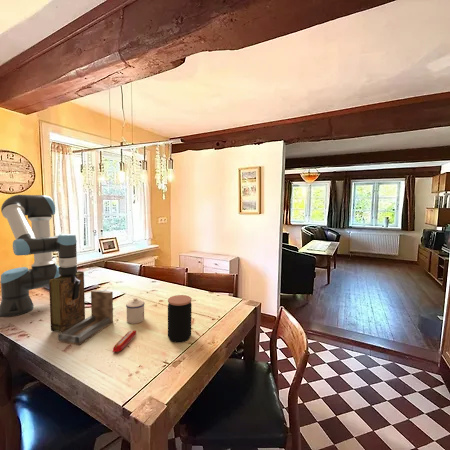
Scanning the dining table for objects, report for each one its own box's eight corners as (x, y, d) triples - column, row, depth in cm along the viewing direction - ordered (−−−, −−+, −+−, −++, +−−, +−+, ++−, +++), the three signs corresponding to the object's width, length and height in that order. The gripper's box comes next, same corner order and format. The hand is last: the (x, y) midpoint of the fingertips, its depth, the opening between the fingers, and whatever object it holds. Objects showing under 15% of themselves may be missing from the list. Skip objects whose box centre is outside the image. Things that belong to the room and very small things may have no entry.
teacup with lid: (147, 320, 132) (147, 299, 131) (129, 325, 126) (129, 303, 125) (138, 313, 141) (138, 292, 140) (122, 317, 136) (121, 296, 135)
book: (77, 317, 135) (76, 271, 133) (86, 318, 134) (85, 271, 132) (50, 332, 119) (48, 280, 117) (60, 333, 118) (59, 281, 116)
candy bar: (129, 334, 119) (129, 328, 119) (137, 334, 119) (137, 328, 118) (111, 354, 103) (110, 347, 103) (119, 355, 103) (119, 347, 102)
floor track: (58, 341, 111) (57, 306, 110) (94, 319, 132) (93, 289, 131) (79, 345, 109) (78, 309, 107) (113, 322, 130) (112, 291, 129)
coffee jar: (180, 329, 124) (181, 293, 123) (196, 336, 118) (196, 298, 116) (162, 337, 116) (162, 299, 115) (178, 346, 109) (178, 305, 108)
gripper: (49, 266, 122) (51, 314, 124) (74, 268, 119) (75, 317, 120) (62, 263, 129) (63, 308, 131) (86, 264, 126) (87, 311, 128)
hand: (69, 312), depth 126 cm, fingers closed
